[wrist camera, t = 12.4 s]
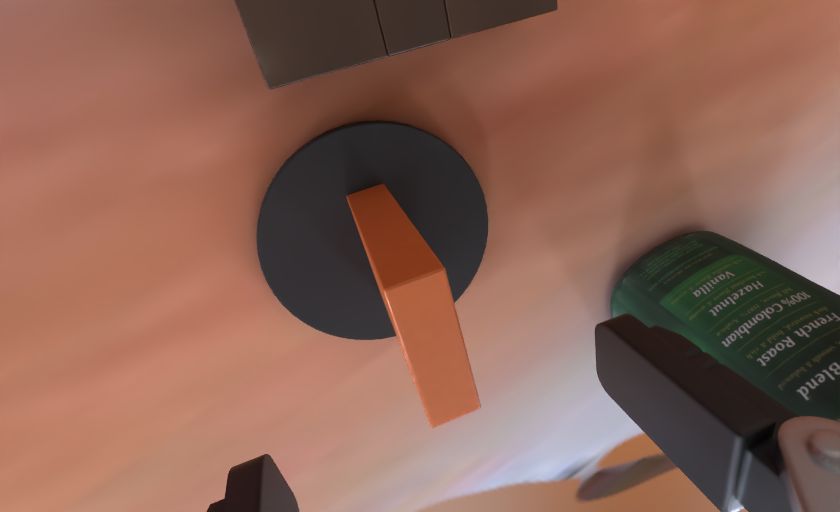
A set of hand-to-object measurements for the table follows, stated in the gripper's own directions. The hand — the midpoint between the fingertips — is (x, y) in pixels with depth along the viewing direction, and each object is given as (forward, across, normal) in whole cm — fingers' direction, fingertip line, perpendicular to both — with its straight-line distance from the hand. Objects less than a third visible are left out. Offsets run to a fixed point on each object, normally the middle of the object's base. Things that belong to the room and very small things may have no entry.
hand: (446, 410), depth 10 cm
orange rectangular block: (+10, 0, 0) cm, 10 cm away
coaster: (+10, 0, 0) cm, 10 cm away
